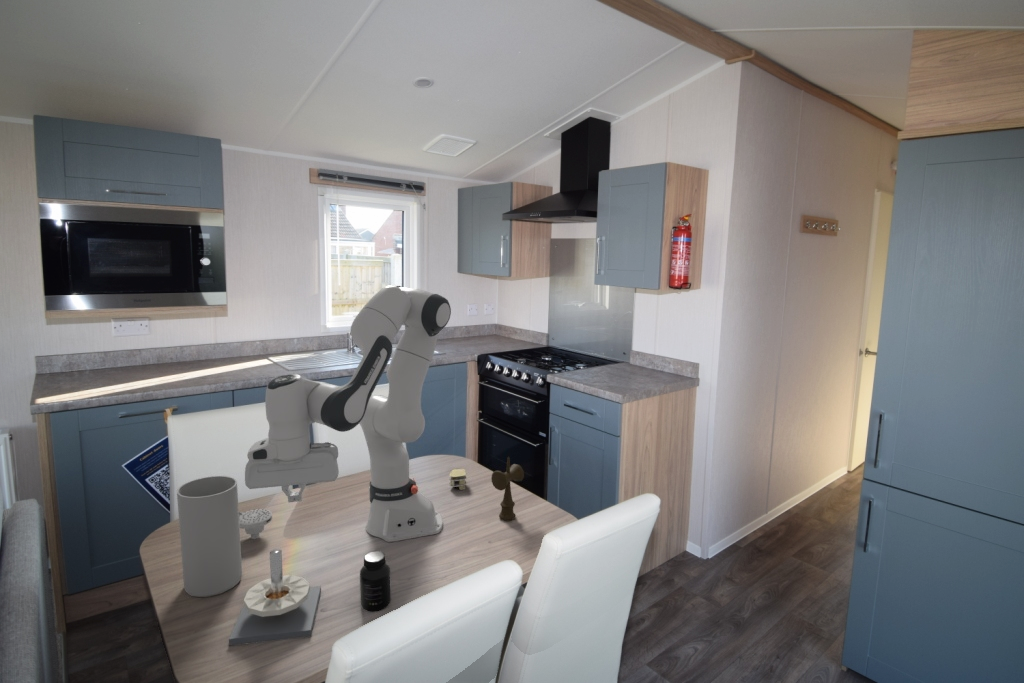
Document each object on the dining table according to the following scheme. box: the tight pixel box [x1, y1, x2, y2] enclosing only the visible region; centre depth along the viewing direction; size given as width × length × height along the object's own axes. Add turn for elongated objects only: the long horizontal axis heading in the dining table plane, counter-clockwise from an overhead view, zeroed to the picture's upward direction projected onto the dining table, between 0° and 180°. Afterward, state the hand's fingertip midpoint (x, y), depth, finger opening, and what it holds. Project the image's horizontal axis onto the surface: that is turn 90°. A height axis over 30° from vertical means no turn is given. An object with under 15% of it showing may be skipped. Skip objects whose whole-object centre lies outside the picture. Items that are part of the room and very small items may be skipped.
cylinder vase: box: [176, 475, 243, 598], centre depth 132 cm, size 12×12×25 cm
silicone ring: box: [243, 574, 311, 617], centre depth 121 cm, size 13×13×1 cm
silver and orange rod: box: [266, 548, 289, 599], centre depth 121 cm, size 6×6×14 cm
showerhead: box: [239, 508, 273, 540], centre depth 156 cm, size 9×7×10 cm
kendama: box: [490, 456, 525, 521], centre depth 169 cm, size 6×10×20 cm, turn 140°
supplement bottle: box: [359, 550, 392, 613], centre depth 127 cm, size 7×7×12 cm
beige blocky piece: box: [448, 468, 467, 490], centre depth 193 cm, size 10×9×6 cm
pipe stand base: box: [228, 585, 322, 646], centre depth 122 cm, size 16×16×2 cm
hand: (295, 500), depth 129 cm, fingers closed
